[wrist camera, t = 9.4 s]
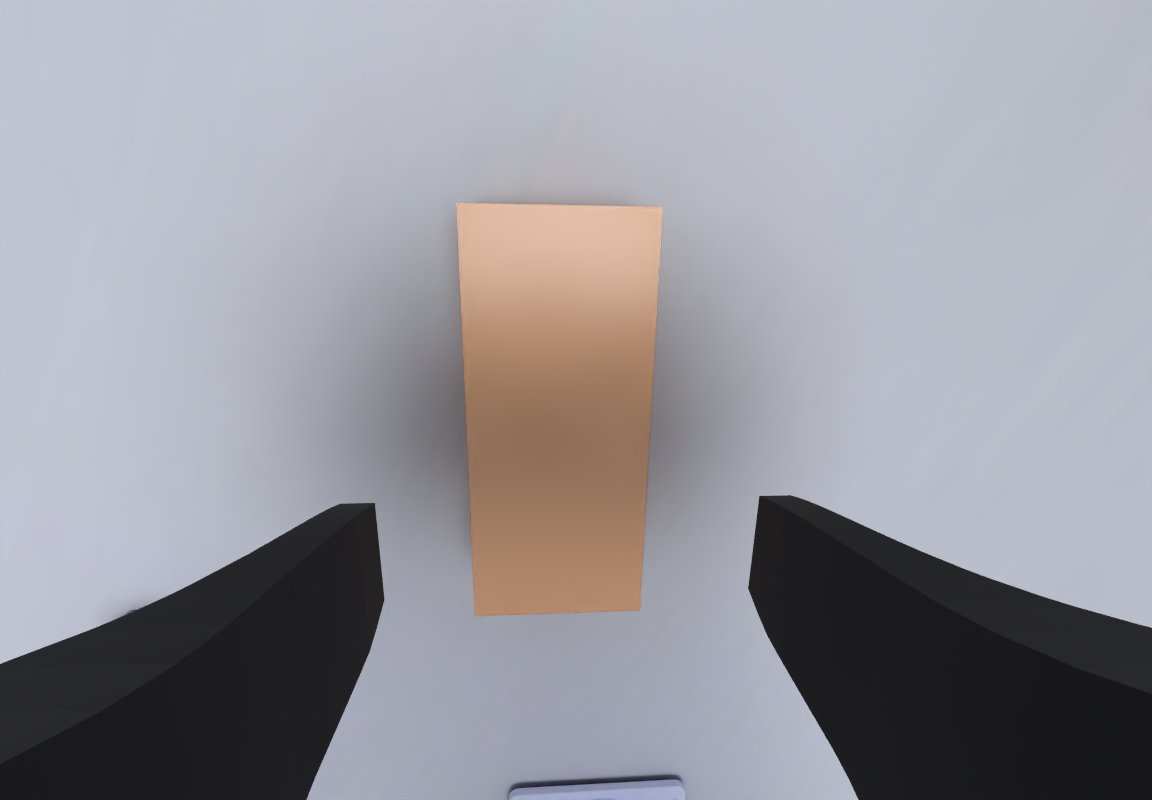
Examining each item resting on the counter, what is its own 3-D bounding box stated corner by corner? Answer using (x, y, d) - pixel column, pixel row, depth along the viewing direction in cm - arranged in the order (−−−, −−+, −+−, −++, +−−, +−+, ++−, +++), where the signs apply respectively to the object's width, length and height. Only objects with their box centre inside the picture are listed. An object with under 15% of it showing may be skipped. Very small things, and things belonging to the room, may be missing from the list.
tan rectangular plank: (623, 550, 21) (640, 610, 18) (485, 554, 21) (474, 616, 18) (638, 212, 18) (662, 206, 14) (472, 209, 17) (456, 202, 14)
